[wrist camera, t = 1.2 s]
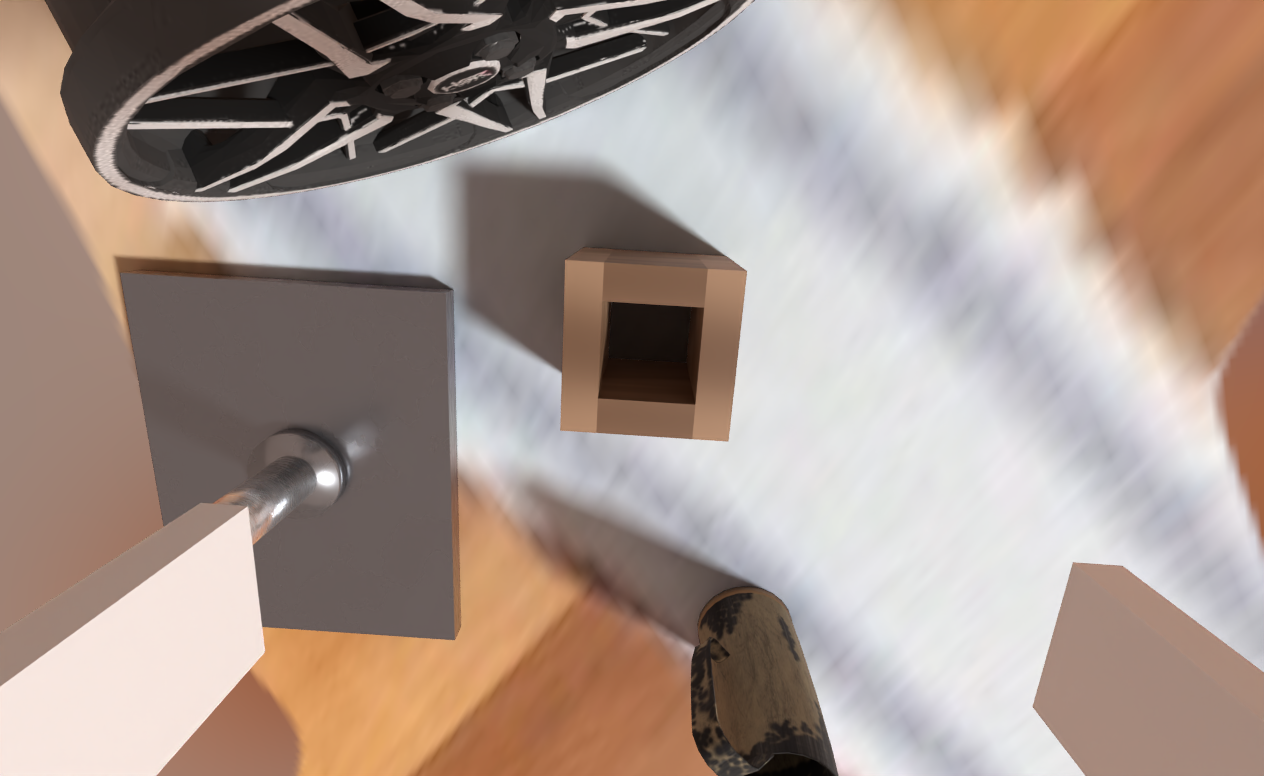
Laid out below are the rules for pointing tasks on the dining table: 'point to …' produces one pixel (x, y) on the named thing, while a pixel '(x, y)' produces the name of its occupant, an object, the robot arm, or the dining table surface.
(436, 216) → the dining table surface
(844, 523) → the dining table surface
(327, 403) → the shaft stand
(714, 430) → the hollow wooden cube
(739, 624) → the mug
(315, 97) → the wheel rim
